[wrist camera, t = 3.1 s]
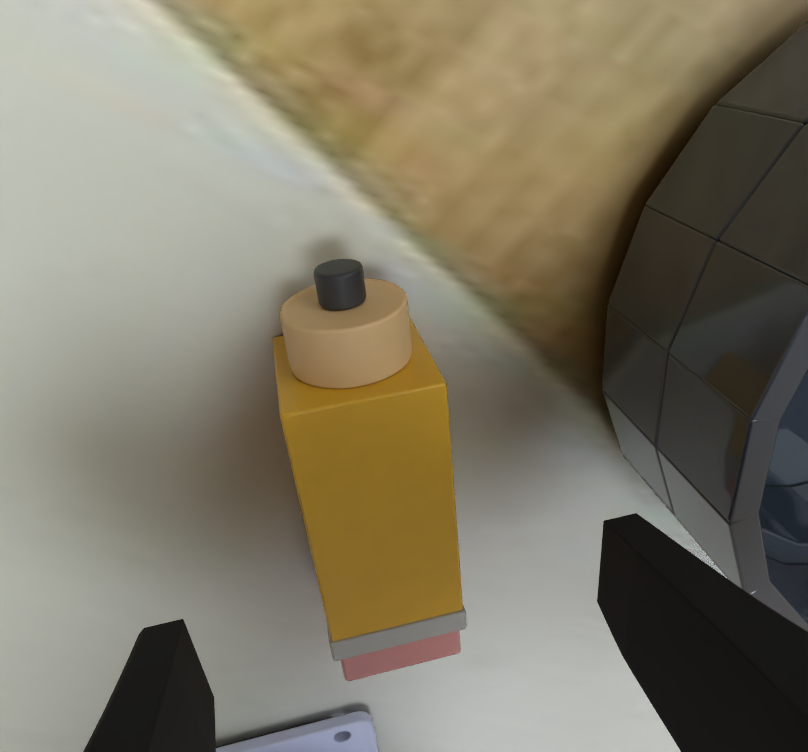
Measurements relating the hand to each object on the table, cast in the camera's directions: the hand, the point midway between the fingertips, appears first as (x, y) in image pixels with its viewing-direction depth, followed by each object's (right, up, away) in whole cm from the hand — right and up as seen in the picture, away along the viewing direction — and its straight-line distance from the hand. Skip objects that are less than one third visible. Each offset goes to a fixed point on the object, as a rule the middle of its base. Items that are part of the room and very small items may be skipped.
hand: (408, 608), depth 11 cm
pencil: (-1, +3, +5) cm, 5 cm away
